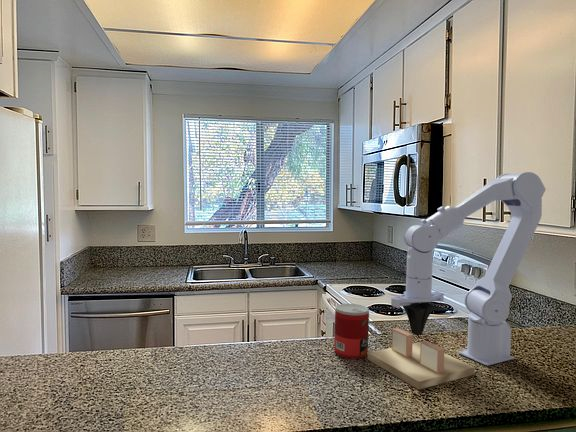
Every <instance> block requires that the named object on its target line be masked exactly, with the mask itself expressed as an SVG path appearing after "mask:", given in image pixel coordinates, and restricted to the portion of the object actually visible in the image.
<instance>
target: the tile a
mask: <svg viewBox="0 0 576 432" xmlns="http://www.w3.org/2000/svg"><path fill="white" fill-rule="evenodd" d="M391 332H392V333H391V348H392V350H393V351H395V352H397V353H399V354H401V355H403V356H405V357H412V345H413V343H414V341H413V340H414V334H412V333H410V332H407V331H405V330H403V329H401V328H398V327H395V328H392V329H391Z"/></svg>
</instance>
